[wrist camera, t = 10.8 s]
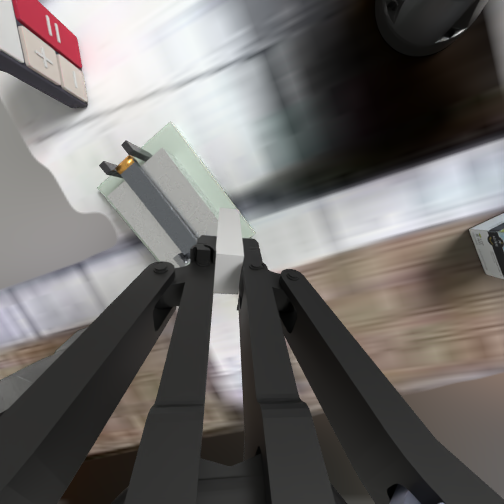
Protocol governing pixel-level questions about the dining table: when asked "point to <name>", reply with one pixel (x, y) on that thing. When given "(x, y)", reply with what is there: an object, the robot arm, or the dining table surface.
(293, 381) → the robot arm
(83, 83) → the calculator
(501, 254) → the tea box
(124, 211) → the knife switch
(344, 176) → the dining table surface
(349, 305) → the dining table surface
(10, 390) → the coffeepot
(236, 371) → the dining table surface
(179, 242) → the lever
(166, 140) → the board
